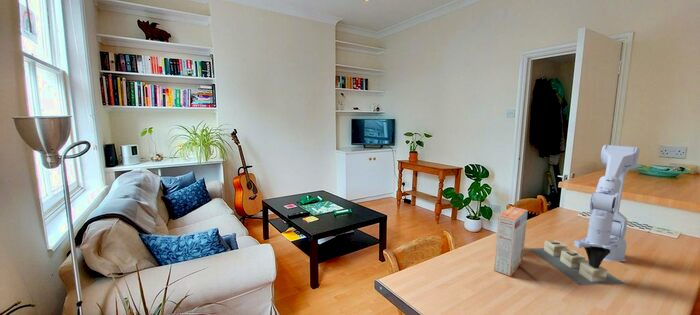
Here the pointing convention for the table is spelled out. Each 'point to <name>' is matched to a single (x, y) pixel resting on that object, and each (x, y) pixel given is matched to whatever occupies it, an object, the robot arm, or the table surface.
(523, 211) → the cracker box
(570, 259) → the block seven
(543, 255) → the mat
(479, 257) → the table surface
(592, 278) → the block plain
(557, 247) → the block one
